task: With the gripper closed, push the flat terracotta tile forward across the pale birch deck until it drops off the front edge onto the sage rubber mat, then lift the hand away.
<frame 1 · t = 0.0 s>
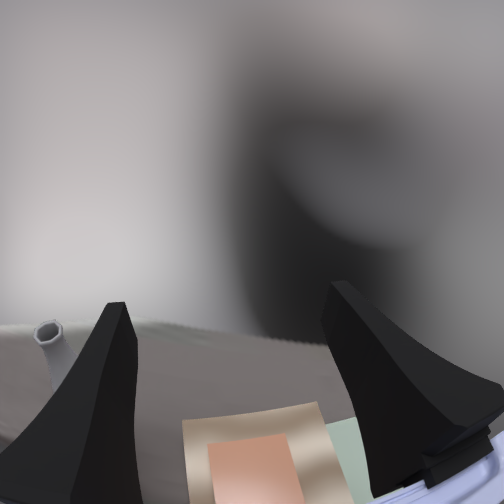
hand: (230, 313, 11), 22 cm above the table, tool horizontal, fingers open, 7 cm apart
flask: (82, 394, 30), on the table
mat: (370, 477, 23), on the table
tile: (256, 496, 19), point 4 cm above the table, touching deck
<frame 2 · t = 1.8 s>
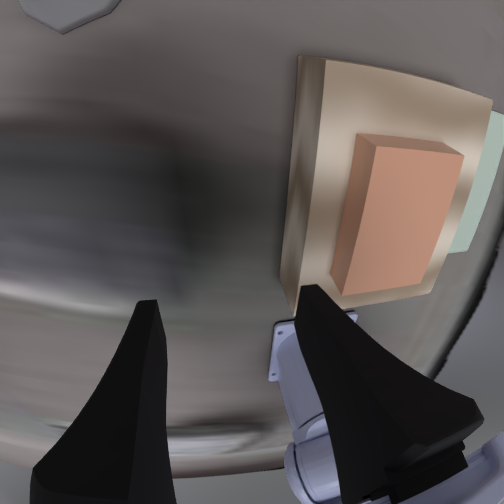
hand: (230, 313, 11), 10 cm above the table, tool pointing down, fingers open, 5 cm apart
deck: (370, 180, 21), on the table
mat: (463, 184, 23), on the table
tile: (387, 209, 18), point 4 cm above the table, touching deck
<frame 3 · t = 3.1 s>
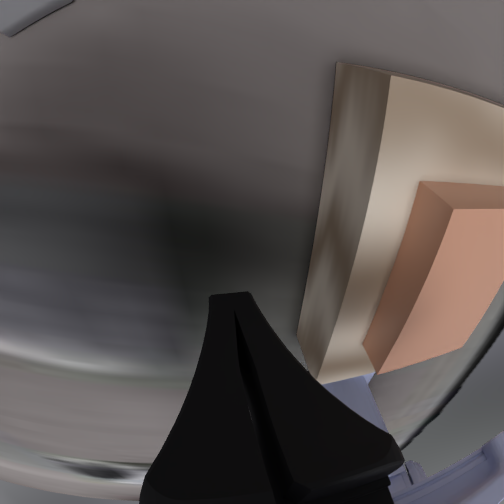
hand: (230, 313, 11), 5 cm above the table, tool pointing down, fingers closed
deck: (412, 223, 17), on the table
tile: (438, 270, 13), point 4 cm above the table, touching deck
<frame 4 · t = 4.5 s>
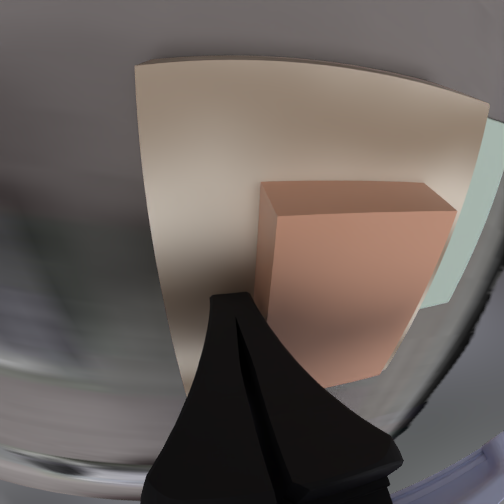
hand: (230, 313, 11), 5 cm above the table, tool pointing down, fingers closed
deck: (294, 231, 16), on the table
mat: (443, 222, 17), on the table
tile: (329, 286, 12), point 4 cm above the table, touching deck, gripper
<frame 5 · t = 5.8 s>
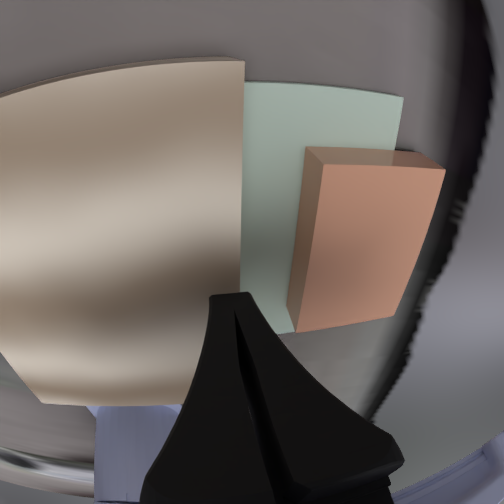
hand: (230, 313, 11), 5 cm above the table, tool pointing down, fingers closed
deck: (100, 246, 14), on the table
mat: (304, 230, 16), on the table
tile: (369, 258, 14), point 2 cm above the table, tilted 180°, touching mat
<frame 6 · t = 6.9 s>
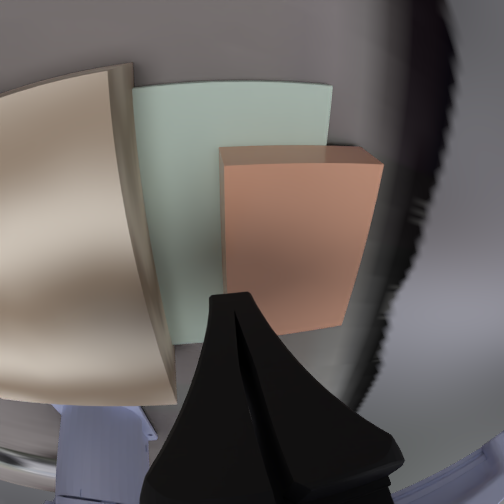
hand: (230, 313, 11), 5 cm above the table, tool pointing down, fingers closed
deck: (39, 252, 14), on the table
mat: (233, 235, 15), on the table
tile: (298, 265, 14), point 2 cm above the table, tilted 180°, touching mat
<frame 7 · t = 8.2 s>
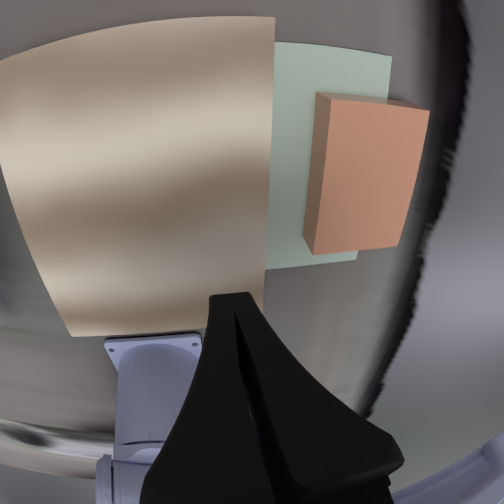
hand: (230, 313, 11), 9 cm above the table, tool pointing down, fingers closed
deck: (143, 176, 17), on the table
mat: (316, 165, 18), on the table
tile: (372, 184, 17), point 2 cm above the table, tilted 180°, touching mat
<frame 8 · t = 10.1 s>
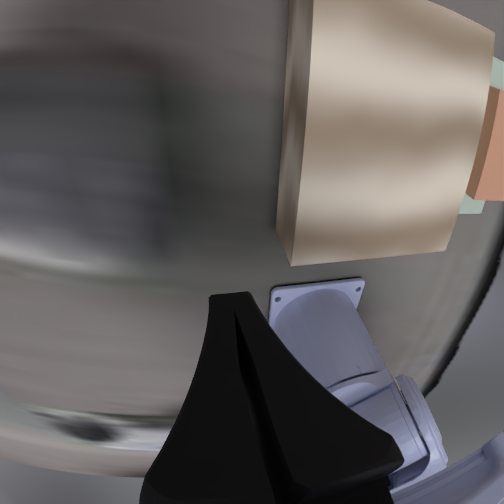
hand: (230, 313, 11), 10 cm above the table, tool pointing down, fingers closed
deck: (373, 118, 18), on the table
mat: (472, 134, 20), on the table
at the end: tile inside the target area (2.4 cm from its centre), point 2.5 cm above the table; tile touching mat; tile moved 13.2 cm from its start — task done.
